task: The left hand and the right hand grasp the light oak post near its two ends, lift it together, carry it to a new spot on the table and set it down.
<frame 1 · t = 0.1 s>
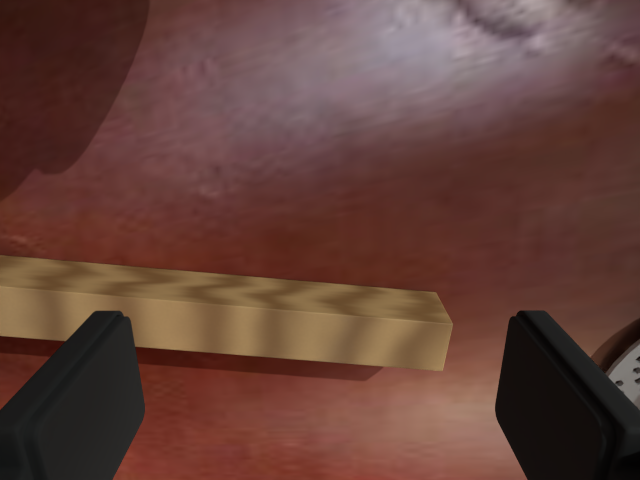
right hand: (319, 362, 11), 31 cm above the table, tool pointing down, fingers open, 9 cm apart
post: (148, 290, 45), on the table
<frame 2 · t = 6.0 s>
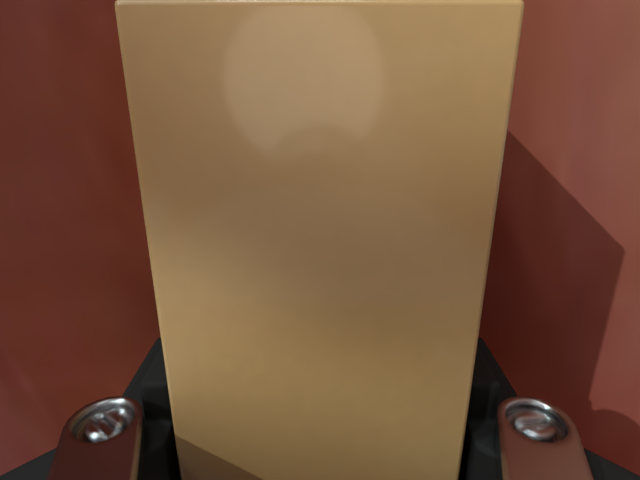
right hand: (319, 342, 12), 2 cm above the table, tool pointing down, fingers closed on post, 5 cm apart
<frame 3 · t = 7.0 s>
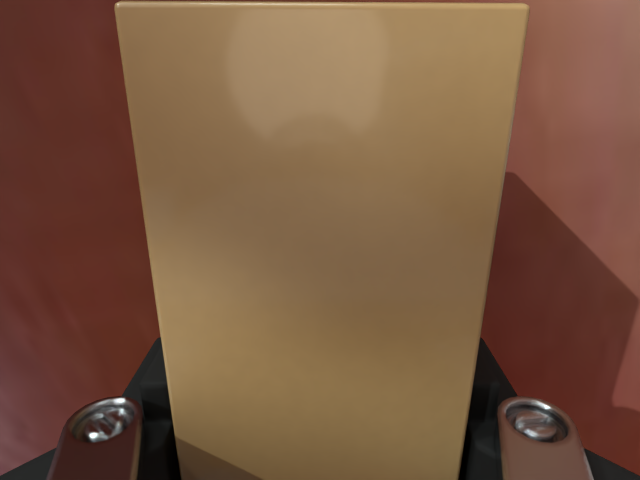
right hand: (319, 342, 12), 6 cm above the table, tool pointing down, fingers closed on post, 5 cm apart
when the left hand's fingers open (1 cm above the table, at t = 11.0 s): post drops 1 cm, on the table.
when the right hand's fingers open (3 cm above the table, at t = 11.1 s): post stays where it is, on the table.
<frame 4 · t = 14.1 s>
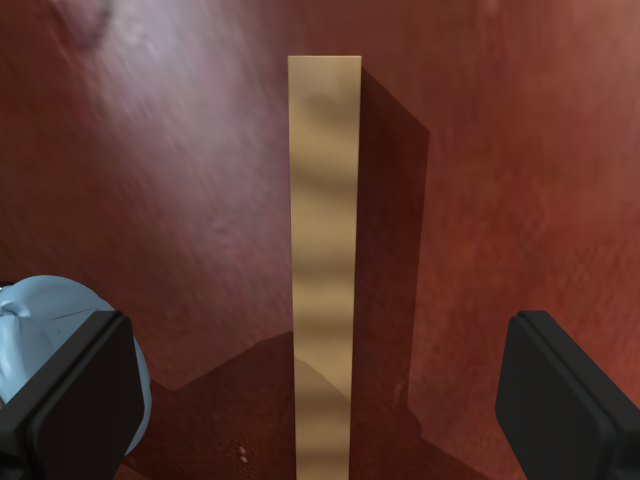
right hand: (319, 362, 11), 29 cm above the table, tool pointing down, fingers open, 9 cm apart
post: (322, 363, 46), on the table
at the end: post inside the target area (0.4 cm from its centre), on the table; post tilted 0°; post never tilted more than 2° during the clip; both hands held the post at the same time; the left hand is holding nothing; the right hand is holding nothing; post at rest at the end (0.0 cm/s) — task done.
